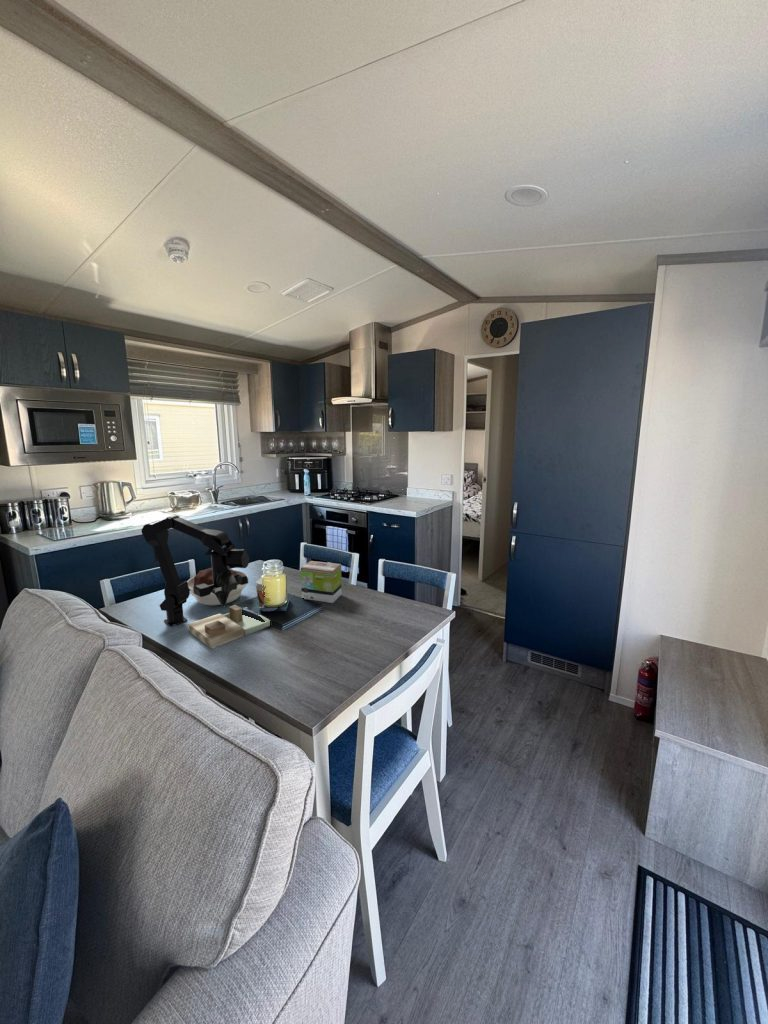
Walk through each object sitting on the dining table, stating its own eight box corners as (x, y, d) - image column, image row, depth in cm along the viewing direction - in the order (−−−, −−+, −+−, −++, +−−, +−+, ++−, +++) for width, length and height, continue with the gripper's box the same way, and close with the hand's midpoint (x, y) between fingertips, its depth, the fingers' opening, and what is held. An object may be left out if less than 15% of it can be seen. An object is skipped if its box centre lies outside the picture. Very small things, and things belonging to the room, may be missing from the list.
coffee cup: (252, 610, 174) (250, 582, 171) (268, 602, 182) (266, 575, 179) (269, 614, 169) (268, 586, 167) (285, 606, 178) (284, 578, 175)
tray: (220, 620, 165) (220, 615, 164) (246, 611, 173) (246, 606, 172) (244, 635, 153) (244, 630, 152) (271, 625, 160) (270, 620, 160)
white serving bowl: (220, 585, 200) (218, 555, 197) (262, 594, 189) (259, 562, 186) (174, 606, 178) (170, 571, 175) (218, 617, 167) (214, 581, 164)
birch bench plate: (188, 631, 156) (188, 623, 156) (220, 620, 165) (219, 613, 164) (211, 648, 144) (210, 640, 143) (244, 635, 153) (243, 628, 152)
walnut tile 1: (228, 606, 164) (234, 604, 166) (229, 618, 165) (235, 616, 167) (235, 610, 161) (241, 608, 163) (236, 622, 162) (242, 620, 164)
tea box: (301, 599, 184) (299, 567, 181) (311, 591, 193) (310, 560, 191) (333, 603, 180) (332, 570, 177) (342, 594, 189) (341, 563, 186)
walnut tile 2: (205, 631, 150) (204, 625, 149) (218, 626, 153) (218, 620, 153) (211, 636, 146) (211, 629, 146) (225, 631, 150) (225, 624, 149)
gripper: (205, 578, 144) (209, 621, 147) (254, 565, 158) (257, 604, 161) (190, 570, 152) (194, 611, 155) (239, 558, 165) (242, 596, 168)
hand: (223, 606), depth 159 cm, fingers closed
